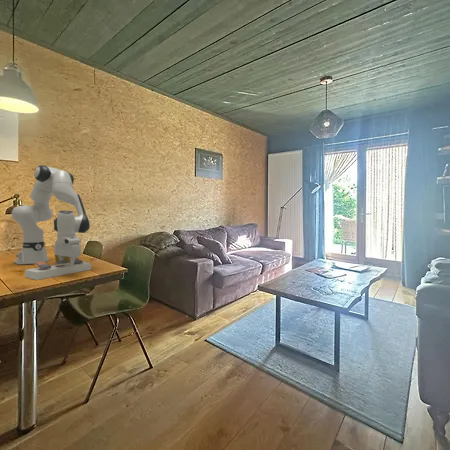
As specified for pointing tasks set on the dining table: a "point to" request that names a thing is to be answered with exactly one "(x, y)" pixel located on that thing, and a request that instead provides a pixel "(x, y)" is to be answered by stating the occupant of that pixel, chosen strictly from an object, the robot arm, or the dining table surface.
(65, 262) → the rocker middle
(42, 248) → the robot arm
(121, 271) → the dining table surface
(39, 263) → the rocker near
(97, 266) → the dining table surface
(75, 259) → the rocker far
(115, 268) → the dining table surface
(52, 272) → the power strip
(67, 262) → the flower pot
